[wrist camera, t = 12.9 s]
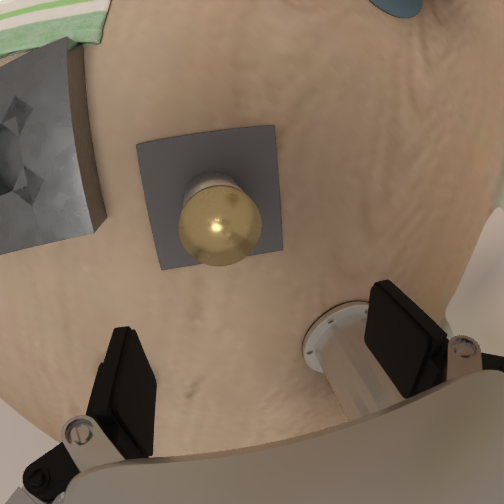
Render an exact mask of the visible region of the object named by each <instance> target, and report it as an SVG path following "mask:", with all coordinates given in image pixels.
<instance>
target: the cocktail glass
mask: <svg viewBox="0 0 504 504" xmlns="http://www.w3.org/2000/svg"><path fill="white" fill-rule="evenodd" d="M369 1H370V2H372V3H373V4H374V5H375V6H377V7H378V8H379V9H381V10H382V11H384V12H386V13H388V14H390V15H393V16H396V17H400V18H410V17H413V16H415V15H416V14H417V13H418V12H419V11H420V9H421V6H422V0H369Z"/></svg>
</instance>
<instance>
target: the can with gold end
mask: <svg viewBox="0 0 504 504" xmlns="http://www.w3.org/2000/svg"><path fill="white" fill-rule="evenodd" d="M261 228H262V222H261V216H260V213H259V211H258V208H257V207H256V205H255V203H254V202H253V201H252V200H251V199H250V197H249V196H248V195H247V194H245V193H244V192H243V190H242V189H241V188H240V187H239V185H238V184H237V183H236V182H235V181H234V179H232V178H231V177H230V176H228V175H226V174H224V173H221V172H217V171H210V172H205V173H202V174H200V175H198V176H196V177H195V178H194V179H193V180H192V181H191V182H190V183H189V184H188V186H187V188H186V190H185V193H184V198H183V205H182V211H181V214H180V219H179V236H180V240H181V242H182V245H183V246H184V248H185V250H186V251H187V252H188V253H189V254H190V255H191V256H192V257H193V258H194V259H196V260H197V261H199V262H201V263H204V264H207V265H211V266H227V265H231V264H234V263H236V262H238V261H240V260H242V259H244V258H245V257H246V256H247V255H249V254H250V253H251V251H252V250H253V249H254V248H255V246H256V244H257V243H258V240H259V238H260V234H261Z"/></svg>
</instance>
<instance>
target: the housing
mask: <svg viewBox="0 0 504 504" xmlns="http://www.w3.org/2000/svg"><path fill="white" fill-rule="evenodd" d="M106 218H107V215H106V211H105V207H104V202H103V198H102V193H101V189H100V184H99V179H98V174H97V168H96V163H95V157H94V151H93V145H92V138H91V132H90V124H89V116H88V108H87V98H86V87H85V73H84V53H83V47H82V46H81V45H79V44H78V43H76V42H75V41H73V40H72V39H70V38H69V37H67V36H66V37H63V38H61V39H58V40H56V41H53V42H51V43H49V44H46V45H44V46H42V47H39V48H37V49H35V50H33V51H31V52H29V53H27V54H25V55H23V56H21V57H19V58H17V59H15V60H13V61H11V62H9V63H7V64H5V65H4V66H2V67H0V255H2V254H6V253H10V252H14V251H18V250H22V249H26V248H30V247H34V246H39V245H43V244H47V243H51V242H56V241H60V240H65V239H69V238H74V237H78V236H83V235H88V234H92V233H95V231H96V230H97V229H98V228H99V227H100V225H101V224H102V223H103V222H104V221H105V219H106Z"/></svg>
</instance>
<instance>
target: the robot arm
mask: <svg viewBox="0 0 504 504" xmlns="http://www.w3.org/2000/svg"><path fill="white" fill-rule="evenodd" d="M446 337H447V334H446V333H445V332H444V331H443V330H442V329H441V328H440V327H439V326H438V325H437V324H436V323H435V322H434V321H433V320H432V319H431V318H430V317H429V316H428V315H427V314H426V313H425V312H424V311H423V310H422V309H420V308H419V307H418V306H417V305H416V304H415V303H414V302H413V301H412V300H411V299H410V298H409V297H408V296H406V295H405V294H404V293H403V292H402V291H401V290H400V289H399V288H398V287H397V286H395V285H394V284H393V283H392V282H391V281H390V280H383V281H379V282H376V283H375V284H374V286H373V287H372V288H371V291H370V299H369V303H367V302H361V301H357V302H349V303H345V304H342V305H340V306H337V307H335V308H333V309H332V310H330V311H328V312H327V313H325V314H324V315H323V316H322V317H320V318H319V319H318V320H317V321H316V322H315V323H314V324H313V326H312V327H311V328H310V330H309V331H308V333H307V335H306V337H305V339H304V342H303V347H302V352H303V357H304V359H305V361H306V363H307V365H308V366H309V367H310V368H311V369H313V370H314V371H317V372H320V373H324V374H325V376H326V378H327V380H328V382H329V383H330V385H331V387H332V389H333V391H334V393H335V395H336V397H337V399H338V401H339V403H340V405H341V407H342V409H343V411H344V413H345V415H346V417H347V418H348V420H349V421H348V422H345V423H342V424H339V425H336V426H333V427H330V428H326V429H323V430H319V431H316V432H312V433H309V434H305V435H301V436H297V437H293V438H289V439H285V440H280V441H276V442H271V443H266V444H261V445H256V446H251V447H245V448H239V449H233V450H226V451H219V452H211V453H202V454H193V455H183V456H171V457H154V458H149V456H152V455H153V439H154V418H155V402H156V389H157V383H156V378H155V376H154V374H153V371H152V369H151V367H150V365H149V362H148V360H147V358H146V355H145V353H144V350H143V348H142V345H141V343H140V340H139V338H138V335H137V333H136V331H135V330H131V328H130V327H129V326H126V327H118V328H115V329H114V331H113V334H112V337H111V340H110V343H109V346H108V350H107V353H106V356H105V359H104V362H102V363H101V364H100V366H99V368H98V372H97V375H96V378H95V382H94V385H93V389H92V393H91V396H90V400H89V404H88V408H87V412H86V415H78V416H75V417H73V418H71V419H69V420H68V421H67V422H66V423H65V424H64V426H63V428H62V431H61V438H62V441H63V442H61V443H60V444H59V445H57V446H56V447H54V448H53V449H52V450H50V451H49V452H47V453H46V454H45V455H43V456H42V457H40V458H39V459H37V460H36V461H34V462H33V463H31V464H30V465H29V466H28V467H27V468H26V469H25V471H24V474H23V484H24V486H23V487H22V489H21V488H20V487H18V488H17V489H16V491H15V492H14V493H13V494H12V496H11V497H10V498H9V499H8V501H7V502H6V503H5V504H504V357H502V356H497V355H491V354H486V353H481V349H480V346H479V345H478V343H477V342H476V341H475V340H474V339H472V338H470V337H468V336H462V335H461V336H460V335H459V336H454V337H453V338H451V339H450V341H449V340H448V339H447V338H446Z"/></svg>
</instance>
